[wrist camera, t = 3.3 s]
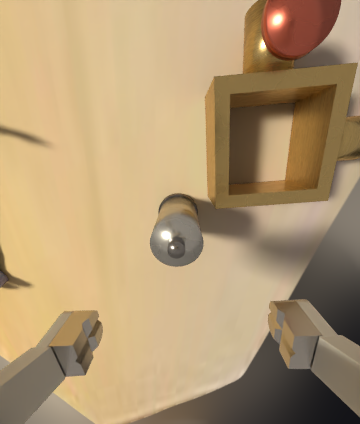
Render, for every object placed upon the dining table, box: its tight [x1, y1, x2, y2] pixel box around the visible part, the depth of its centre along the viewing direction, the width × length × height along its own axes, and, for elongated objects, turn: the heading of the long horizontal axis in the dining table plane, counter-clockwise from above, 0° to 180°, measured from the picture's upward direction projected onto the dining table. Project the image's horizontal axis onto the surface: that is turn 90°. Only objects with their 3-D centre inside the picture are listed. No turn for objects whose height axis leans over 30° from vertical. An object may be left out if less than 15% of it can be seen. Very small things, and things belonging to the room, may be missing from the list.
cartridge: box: [150, 194, 203, 266], centre depth 17 cm, size 5×5×9 cm
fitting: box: [205, 0, 360, 209], centre depth 15 cm, size 14×15×6 cm
